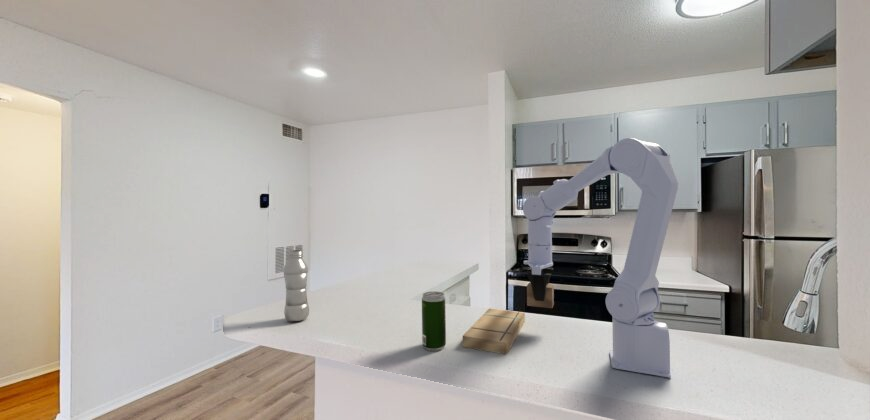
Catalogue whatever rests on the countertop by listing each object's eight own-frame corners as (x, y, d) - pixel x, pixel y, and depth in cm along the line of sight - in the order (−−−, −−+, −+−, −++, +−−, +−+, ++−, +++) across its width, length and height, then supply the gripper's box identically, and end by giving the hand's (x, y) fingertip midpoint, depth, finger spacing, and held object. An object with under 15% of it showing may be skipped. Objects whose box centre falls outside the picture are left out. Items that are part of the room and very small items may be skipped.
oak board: (524, 321, 91) (524, 312, 91) (506, 354, 71) (506, 342, 71) (489, 317, 95) (489, 308, 95) (462, 346, 75) (462, 335, 75)
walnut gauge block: (553, 304, 84) (553, 284, 84) (552, 308, 81) (552, 287, 80) (529, 301, 87) (529, 282, 87) (527, 305, 83) (526, 285, 83)
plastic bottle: (304, 324, 92) (302, 252, 91) (279, 324, 92) (278, 252, 92) (313, 316, 98) (311, 249, 98) (290, 316, 98) (289, 249, 98)
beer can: (430, 353, 72) (429, 298, 72) (418, 345, 76) (417, 293, 76) (450, 347, 75) (449, 294, 74) (437, 340, 79) (436, 290, 79)
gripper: (528, 241, 92) (529, 290, 92) (518, 247, 79) (519, 304, 79) (555, 241, 89) (556, 292, 89) (549, 248, 76) (550, 307, 76)
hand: (540, 298), depth 84 cm, fingers closed on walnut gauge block, 4 cm apart
